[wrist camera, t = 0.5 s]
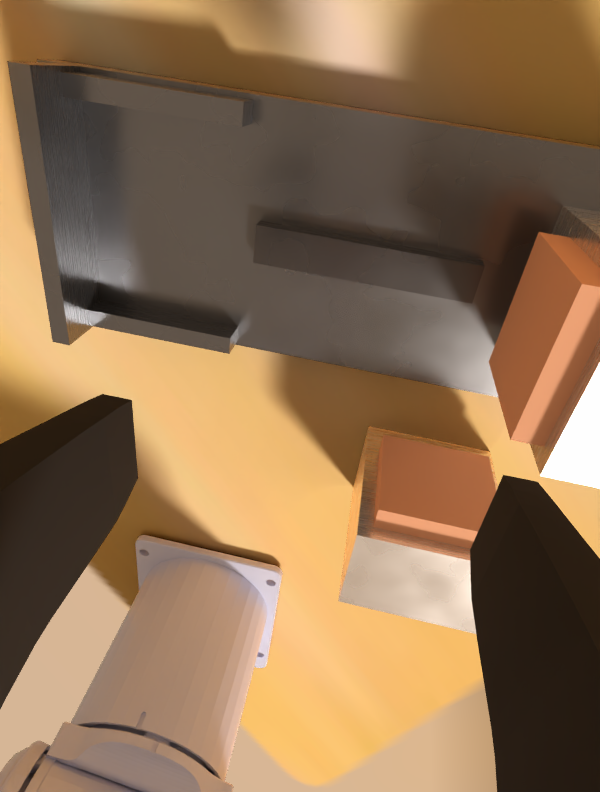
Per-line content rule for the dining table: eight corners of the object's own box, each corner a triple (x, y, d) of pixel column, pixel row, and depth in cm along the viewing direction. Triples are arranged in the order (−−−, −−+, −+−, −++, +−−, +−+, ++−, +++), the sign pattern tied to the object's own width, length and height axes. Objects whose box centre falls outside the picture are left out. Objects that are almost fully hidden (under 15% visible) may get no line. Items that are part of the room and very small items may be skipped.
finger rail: (769, 173, 14) (1037, 247, 8) (629, 407, 18) (736, 566, 12) (60, 60, 16) (-153, 52, 10) (87, 299, 20) (-48, 394, 14)
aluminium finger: (463, 510, 23) (479, 634, 18) (353, 486, 23) (338, 600, 18) (496, 435, 20) (525, 554, 15) (372, 410, 21) (361, 517, 16)
